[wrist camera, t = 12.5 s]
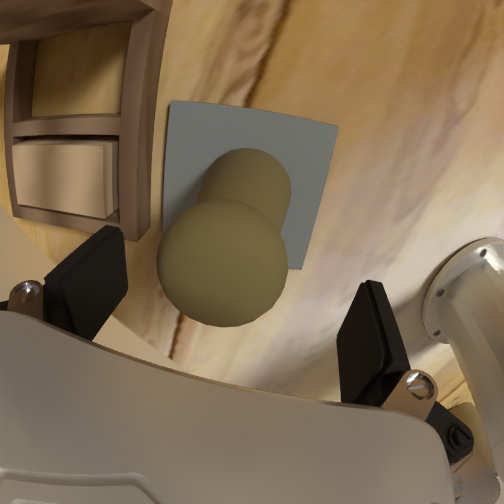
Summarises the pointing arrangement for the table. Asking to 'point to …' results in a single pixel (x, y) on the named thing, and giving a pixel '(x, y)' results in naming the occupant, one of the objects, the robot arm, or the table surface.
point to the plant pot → (475, 430)
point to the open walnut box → (125, 124)
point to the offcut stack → (68, 174)
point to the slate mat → (256, 137)
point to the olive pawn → (229, 242)
